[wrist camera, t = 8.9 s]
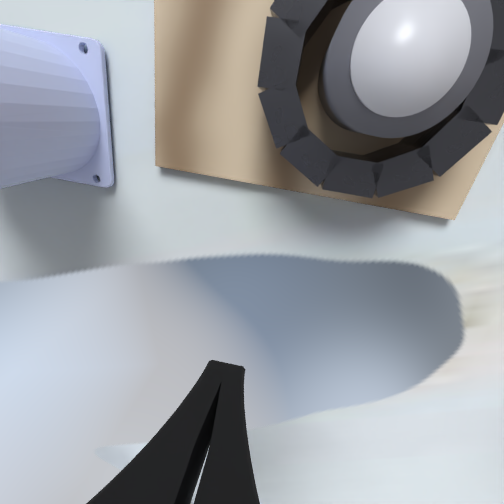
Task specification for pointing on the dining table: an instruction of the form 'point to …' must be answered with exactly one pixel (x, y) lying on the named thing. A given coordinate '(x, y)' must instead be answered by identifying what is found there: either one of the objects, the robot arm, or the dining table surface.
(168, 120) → the tan wooden board
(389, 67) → the grey domed cylinder
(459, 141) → the segmented dark ring
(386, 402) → the dining table surface
